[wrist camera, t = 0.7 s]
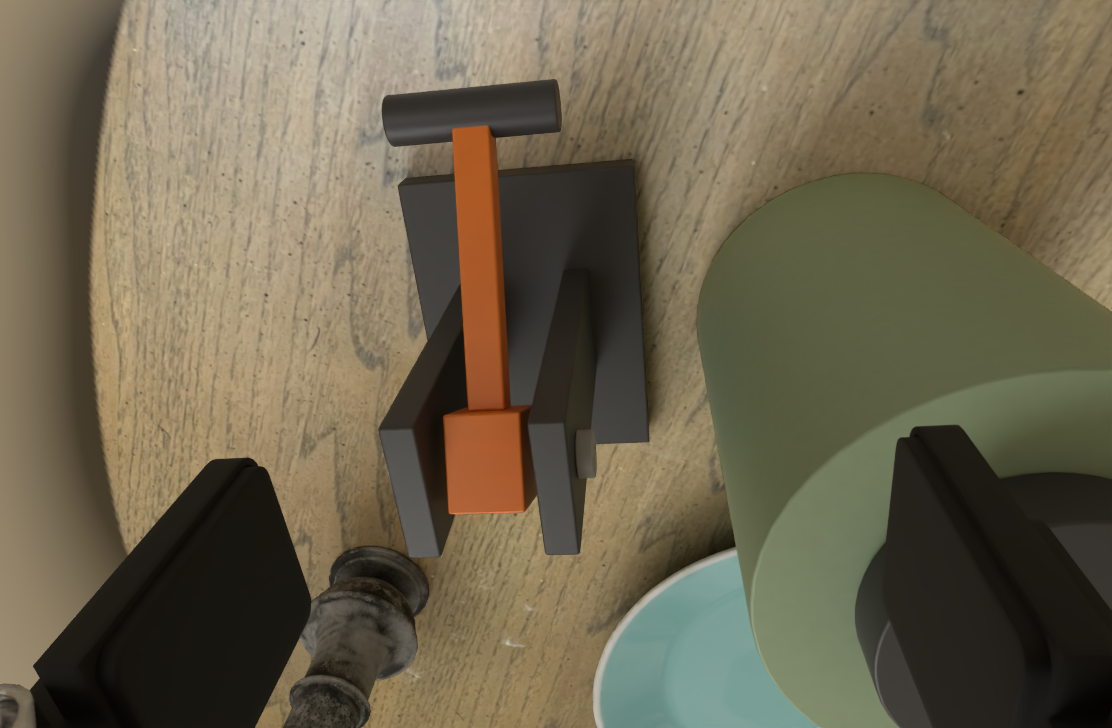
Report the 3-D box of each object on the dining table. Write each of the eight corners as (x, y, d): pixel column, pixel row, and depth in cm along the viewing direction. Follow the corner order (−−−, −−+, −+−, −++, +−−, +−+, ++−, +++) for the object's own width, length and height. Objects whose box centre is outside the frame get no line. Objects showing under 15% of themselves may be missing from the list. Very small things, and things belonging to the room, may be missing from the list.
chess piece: (343, 525, 38) (231, 736, 28) (450, 569, 39) (382, 792, 28) (311, 601, 41) (197, 821, 30) (412, 641, 42) (336, 870, 31)
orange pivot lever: (402, 109, 23) (373, 82, 21) (562, 93, 23) (551, 65, 20) (424, 498, 24) (399, 516, 21) (583, 493, 23) (575, 511, 21)
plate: (1133, 659, 38) (1169, 708, 35) (803, 849, 47) (813, 898, 44) (810, 408, 33) (824, 444, 30) (513, 673, 42) (505, 717, 39)
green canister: (693, 185, 29) (765, 425, 13) (1070, 155, 27) (1652, 390, 12) (698, 441, 34) (756, 831, 19) (1016, 429, 33) (1371, 847, 17)
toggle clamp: (405, 177, 30) (265, 299, 19) (634, 158, 29) (636, 275, 17) (453, 436, 35) (369, 654, 24) (649, 428, 34) (657, 653, 23)
